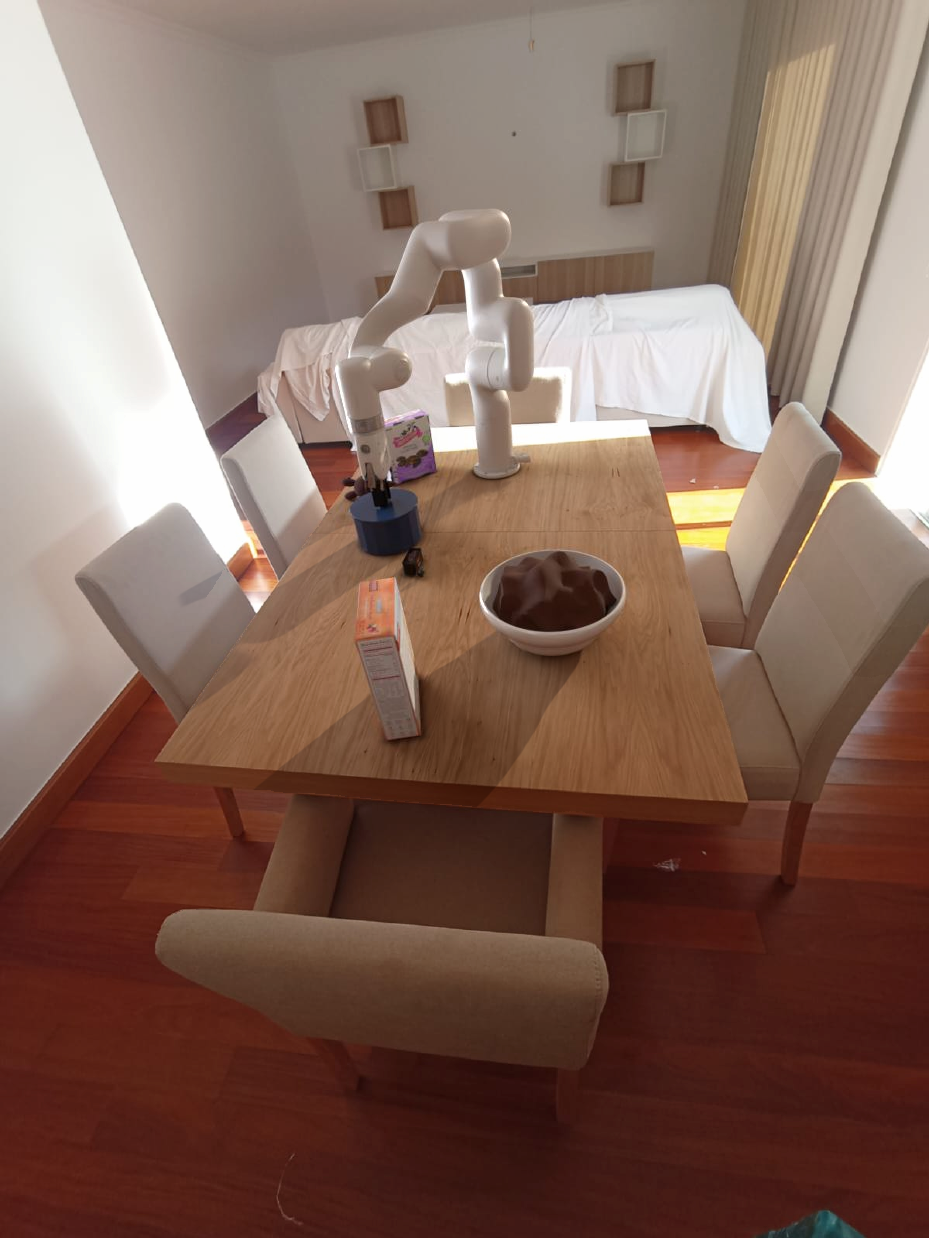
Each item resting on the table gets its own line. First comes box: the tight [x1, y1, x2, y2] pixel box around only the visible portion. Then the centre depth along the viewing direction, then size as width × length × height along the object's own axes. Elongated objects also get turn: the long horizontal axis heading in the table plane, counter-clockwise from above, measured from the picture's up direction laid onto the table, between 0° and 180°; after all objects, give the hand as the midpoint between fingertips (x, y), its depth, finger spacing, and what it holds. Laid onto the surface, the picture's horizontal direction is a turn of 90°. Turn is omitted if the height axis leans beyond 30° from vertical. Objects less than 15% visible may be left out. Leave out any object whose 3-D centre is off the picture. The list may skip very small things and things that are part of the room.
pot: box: [353, 506, 423, 557], centre depth 138 cm, size 15×15×8 cm
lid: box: [348, 480, 419, 524], centre depth 134 cm, size 16×16×7 cm
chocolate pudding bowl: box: [478, 549, 627, 657], centre depth 104 cm, size 25×25×15 cm
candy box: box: [384, 408, 437, 486], centre depth 162 cm, size 14×6×16 cm, turn 119°
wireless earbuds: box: [401, 547, 425, 578], centre depth 128 cm, size 5×7×3 cm, turn 167°
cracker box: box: [354, 576, 422, 741], centre depth 91 cm, size 14×6×21 cm, turn 5°
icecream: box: [340, 475, 397, 501], centre depth 157 cm, size 7×7×15 cm
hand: (383, 501), depth 135 cm, fingers closed on lid, 2 cm apart
